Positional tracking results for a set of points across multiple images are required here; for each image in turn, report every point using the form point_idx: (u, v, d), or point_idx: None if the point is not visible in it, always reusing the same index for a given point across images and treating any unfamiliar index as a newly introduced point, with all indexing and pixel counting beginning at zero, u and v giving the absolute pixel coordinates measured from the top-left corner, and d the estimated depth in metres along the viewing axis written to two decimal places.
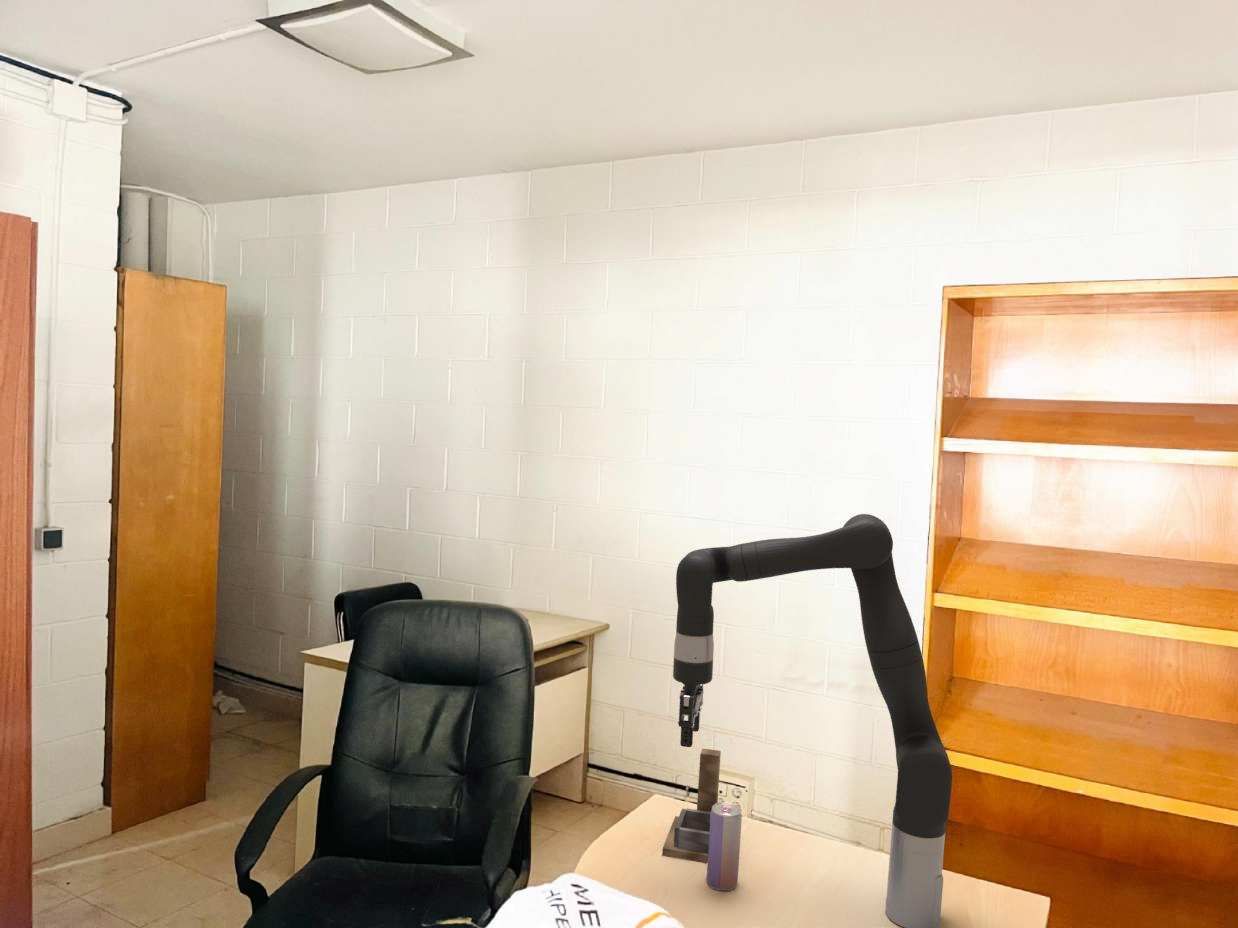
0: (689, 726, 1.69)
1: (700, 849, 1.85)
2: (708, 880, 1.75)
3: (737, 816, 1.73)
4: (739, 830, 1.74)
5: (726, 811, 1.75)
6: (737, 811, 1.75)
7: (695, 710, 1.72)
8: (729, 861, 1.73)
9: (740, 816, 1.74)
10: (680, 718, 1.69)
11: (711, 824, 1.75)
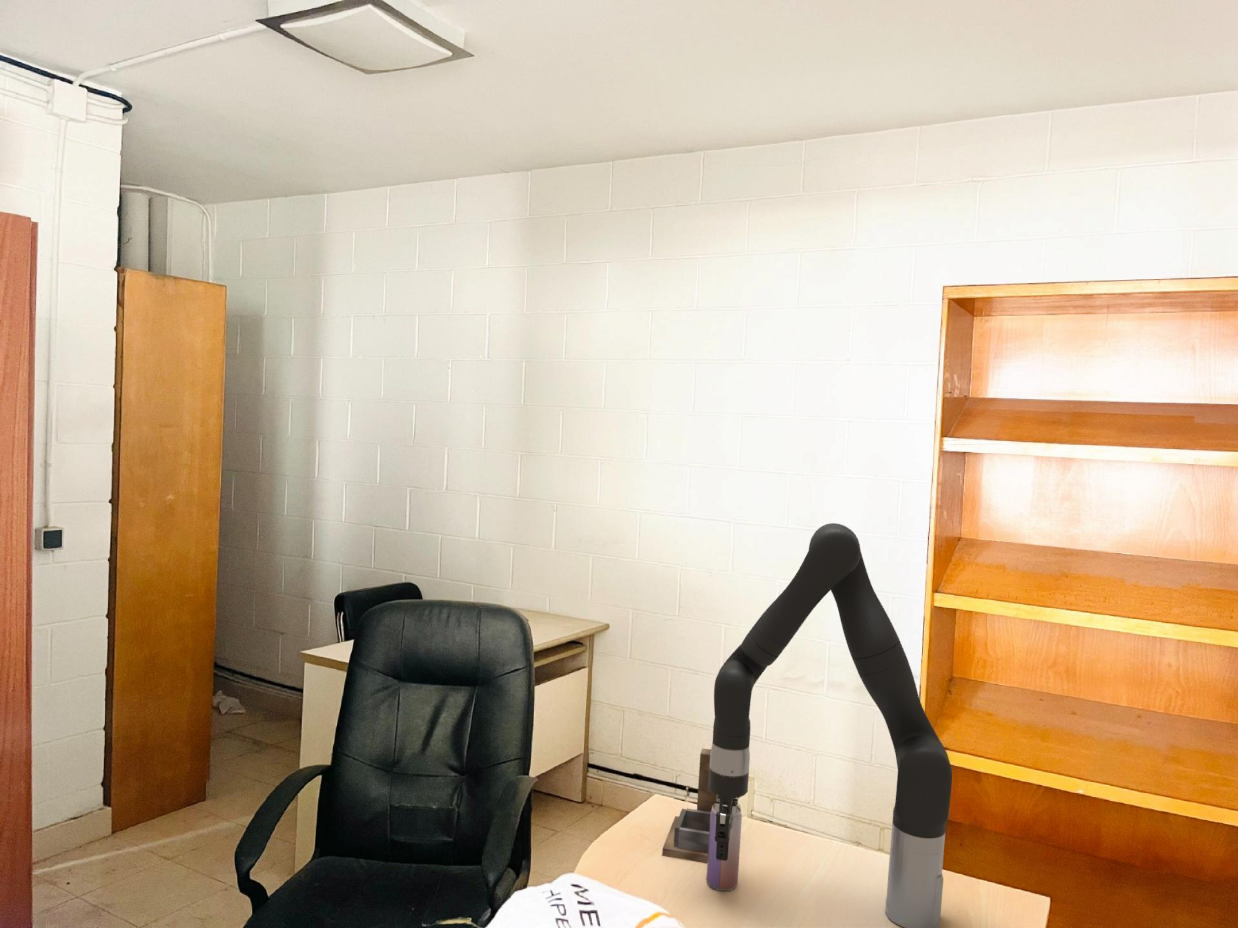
0: (725, 842, 1.70)
1: (700, 849, 1.85)
2: (708, 880, 1.75)
3: (737, 816, 1.73)
4: (739, 830, 1.74)
5: None
6: (737, 811, 1.75)
7: (731, 824, 1.72)
8: (729, 861, 1.73)
9: (740, 816, 1.74)
10: (716, 834, 1.70)
11: (711, 824, 1.75)
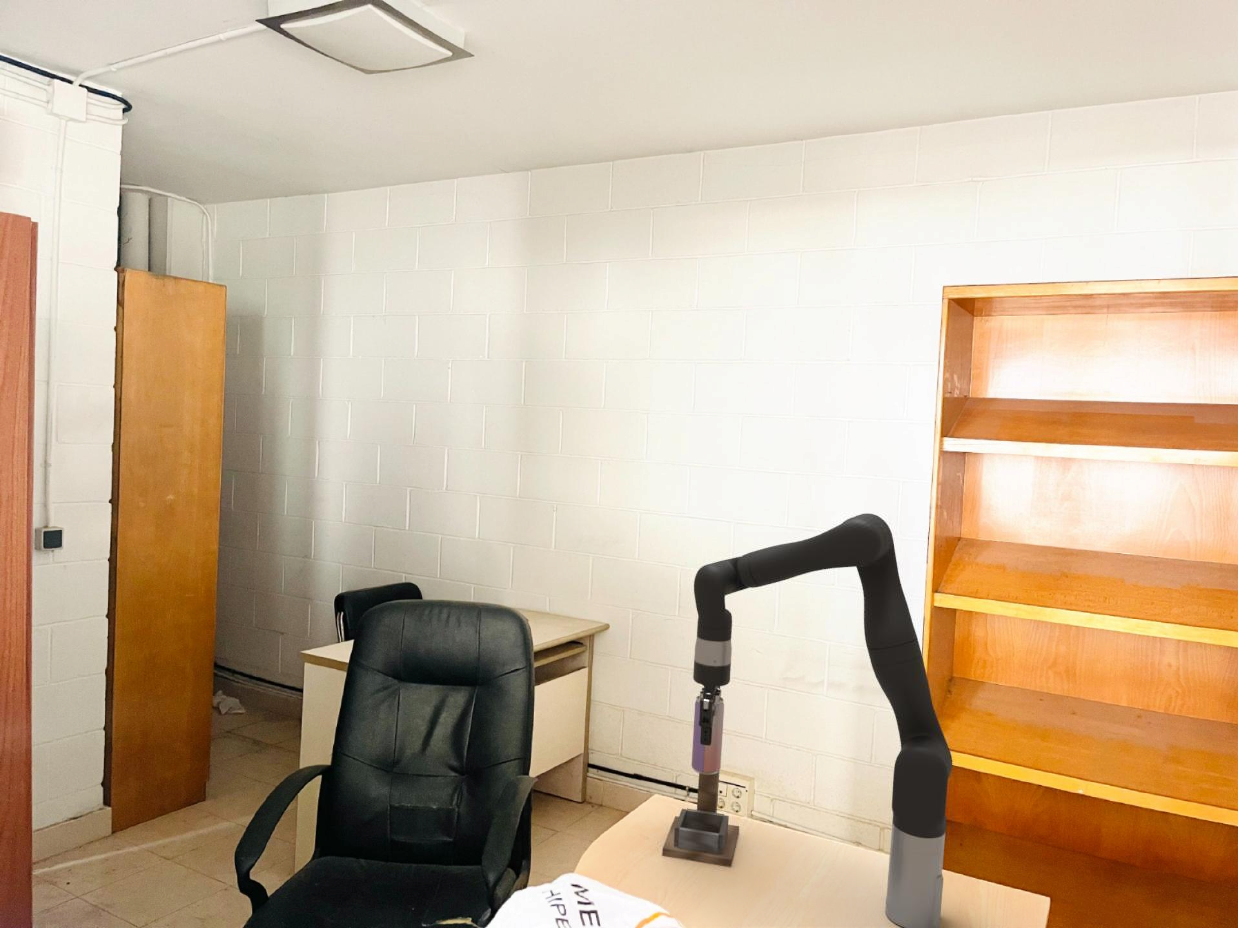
0: (708, 726, 1.82)
1: (700, 849, 1.85)
2: (693, 765, 1.88)
3: (719, 704, 1.86)
4: (721, 718, 1.87)
5: None
6: (720, 701, 1.87)
7: (714, 711, 1.85)
8: (712, 746, 1.86)
9: (722, 705, 1.87)
10: (700, 719, 1.82)
11: (695, 713, 1.87)
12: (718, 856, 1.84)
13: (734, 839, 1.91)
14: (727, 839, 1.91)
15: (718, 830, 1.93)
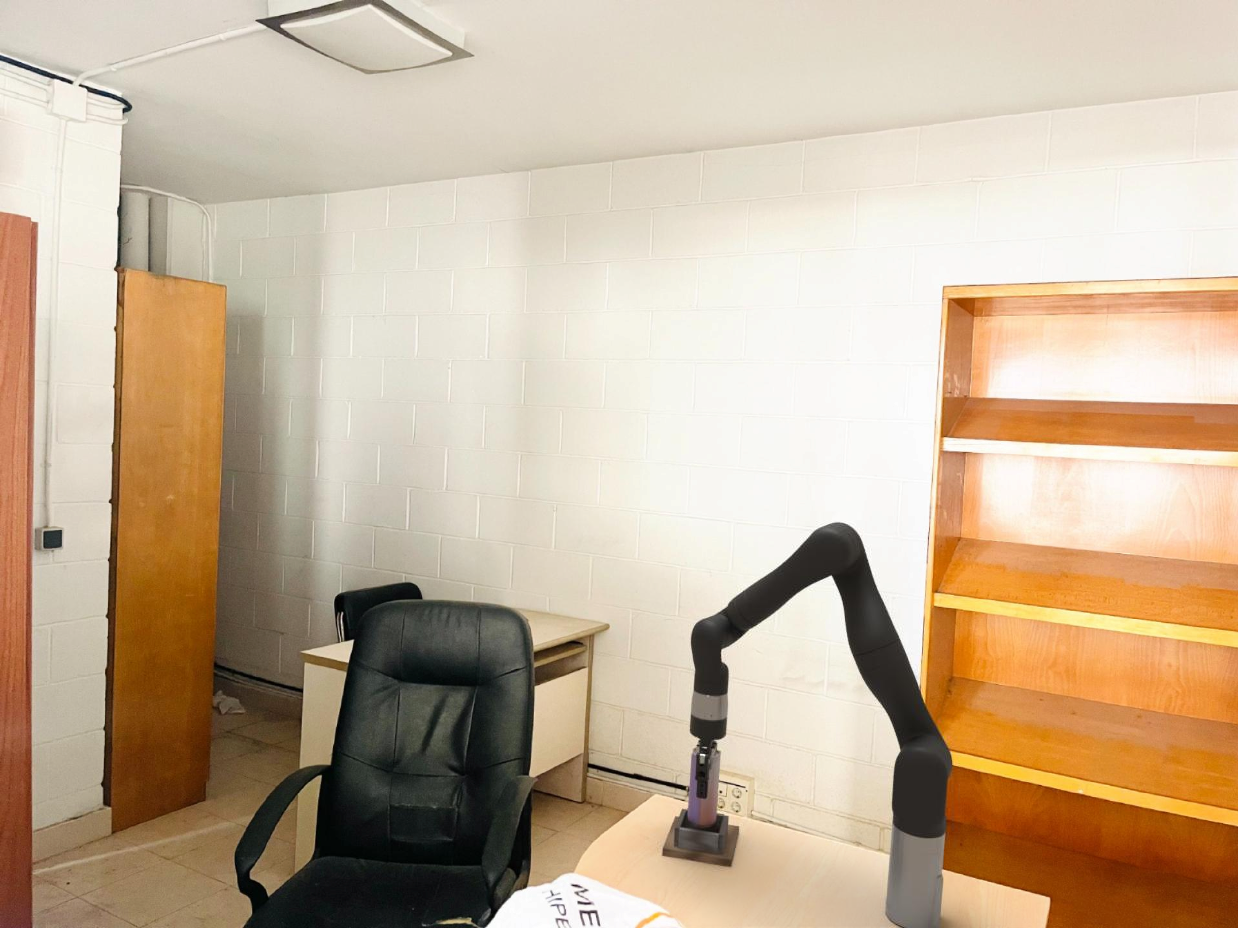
0: (705, 780, 1.83)
1: (700, 849, 1.85)
2: (689, 818, 1.89)
3: (716, 758, 1.87)
4: (717, 771, 1.87)
5: None
6: (716, 753, 1.88)
7: (710, 765, 1.85)
8: (708, 799, 1.86)
9: (718, 758, 1.88)
10: (696, 774, 1.83)
11: (692, 765, 1.88)
12: (718, 856, 1.84)
13: (734, 839, 1.91)
14: (727, 839, 1.91)
15: (718, 830, 1.93)
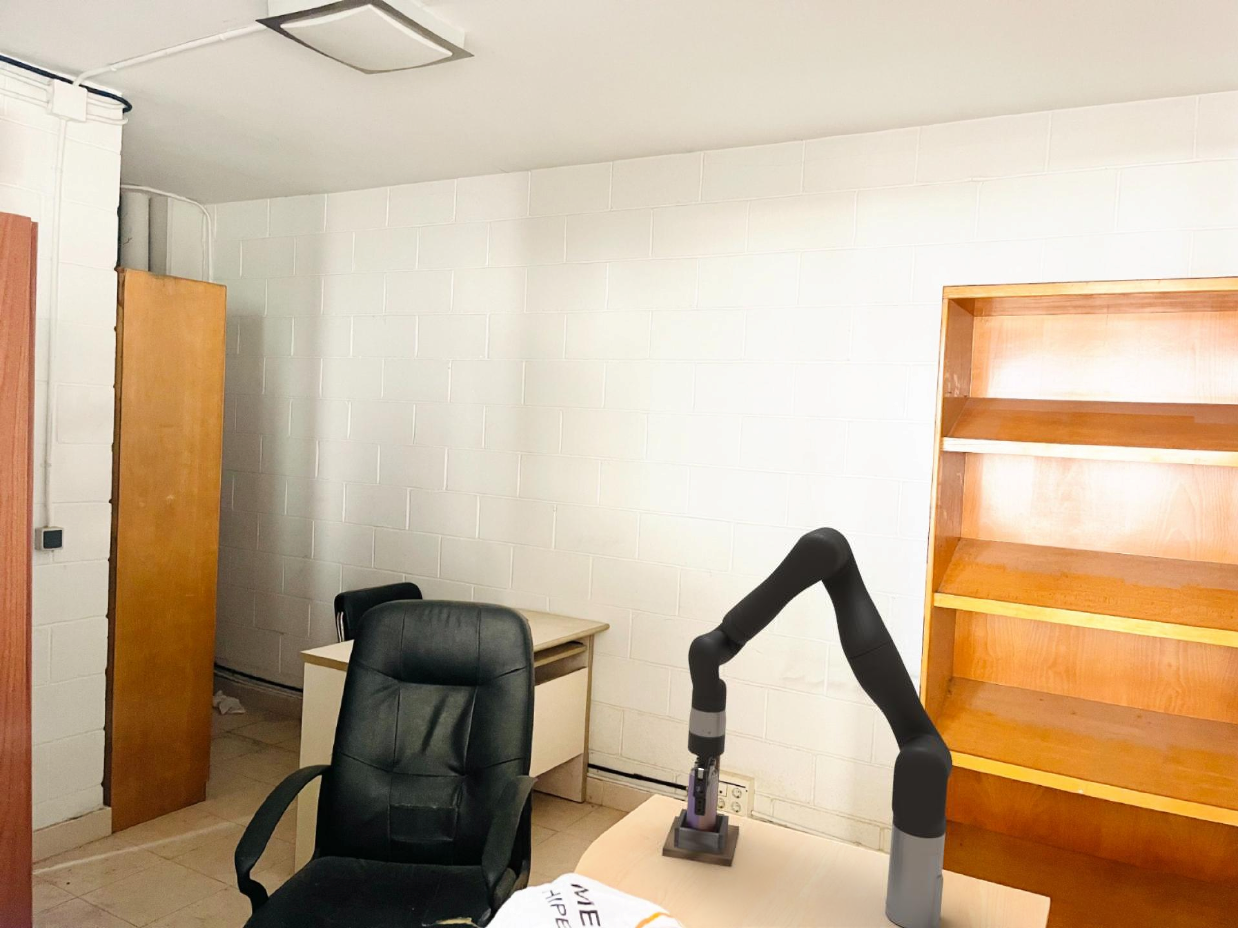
0: (702, 796, 1.81)
1: (700, 849, 1.85)
2: None
3: (713, 778, 1.86)
4: (715, 791, 1.87)
5: None
6: (714, 774, 1.88)
7: (708, 781, 1.84)
8: (706, 819, 1.86)
9: (716, 778, 1.87)
10: (694, 789, 1.82)
11: (689, 786, 1.88)
12: (718, 856, 1.84)
13: (734, 839, 1.91)
14: (727, 839, 1.91)
15: (718, 830, 1.93)
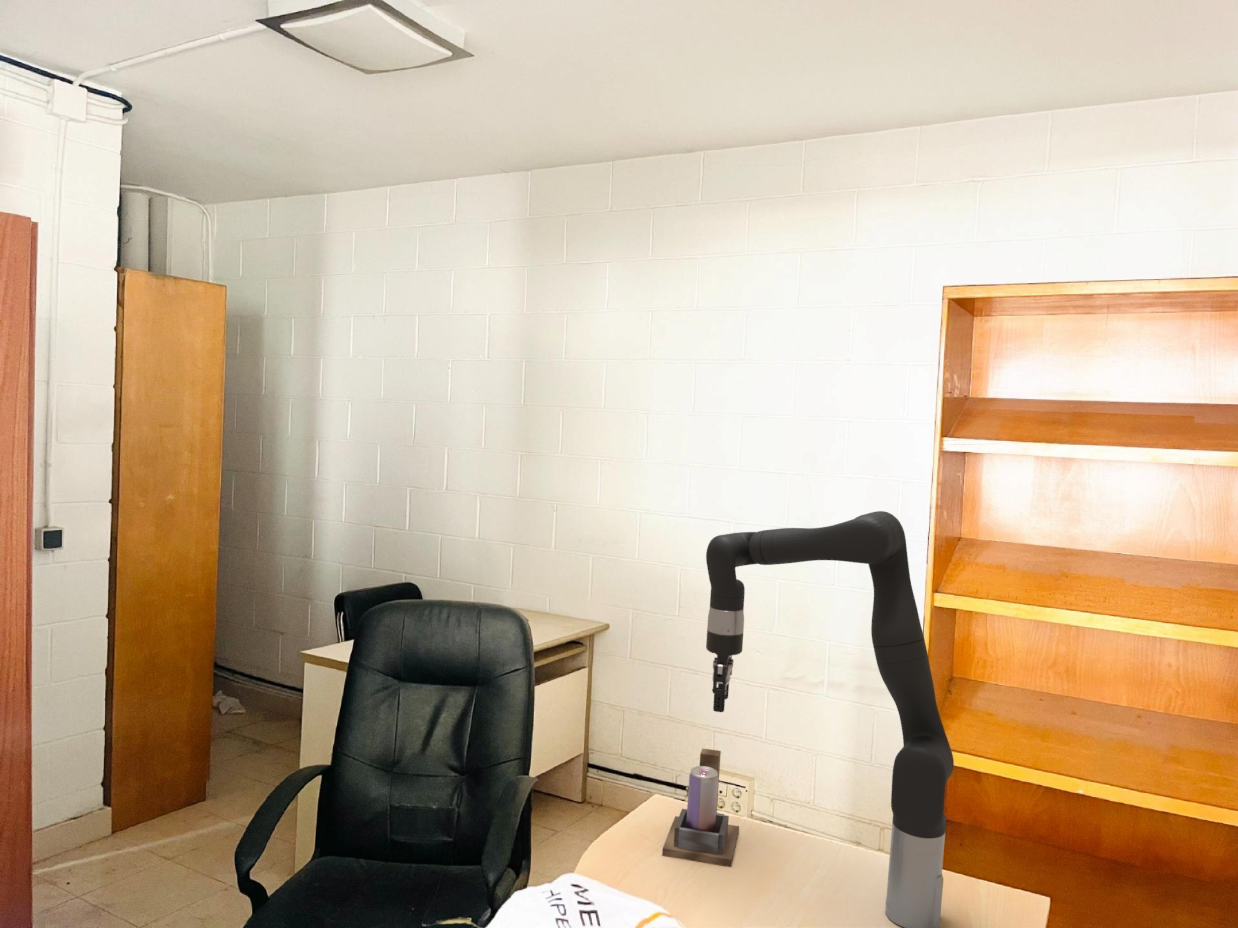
0: (722, 692, 1.84)
1: (700, 849, 1.85)
2: None
3: (714, 778, 1.86)
4: (715, 791, 1.87)
5: (704, 773, 1.88)
6: (714, 774, 1.88)
7: (727, 678, 1.88)
8: (706, 819, 1.86)
9: (716, 778, 1.87)
10: (714, 685, 1.85)
11: (690, 785, 1.88)
12: (718, 856, 1.84)
13: (734, 839, 1.91)
14: (727, 839, 1.91)
15: (718, 830, 1.93)
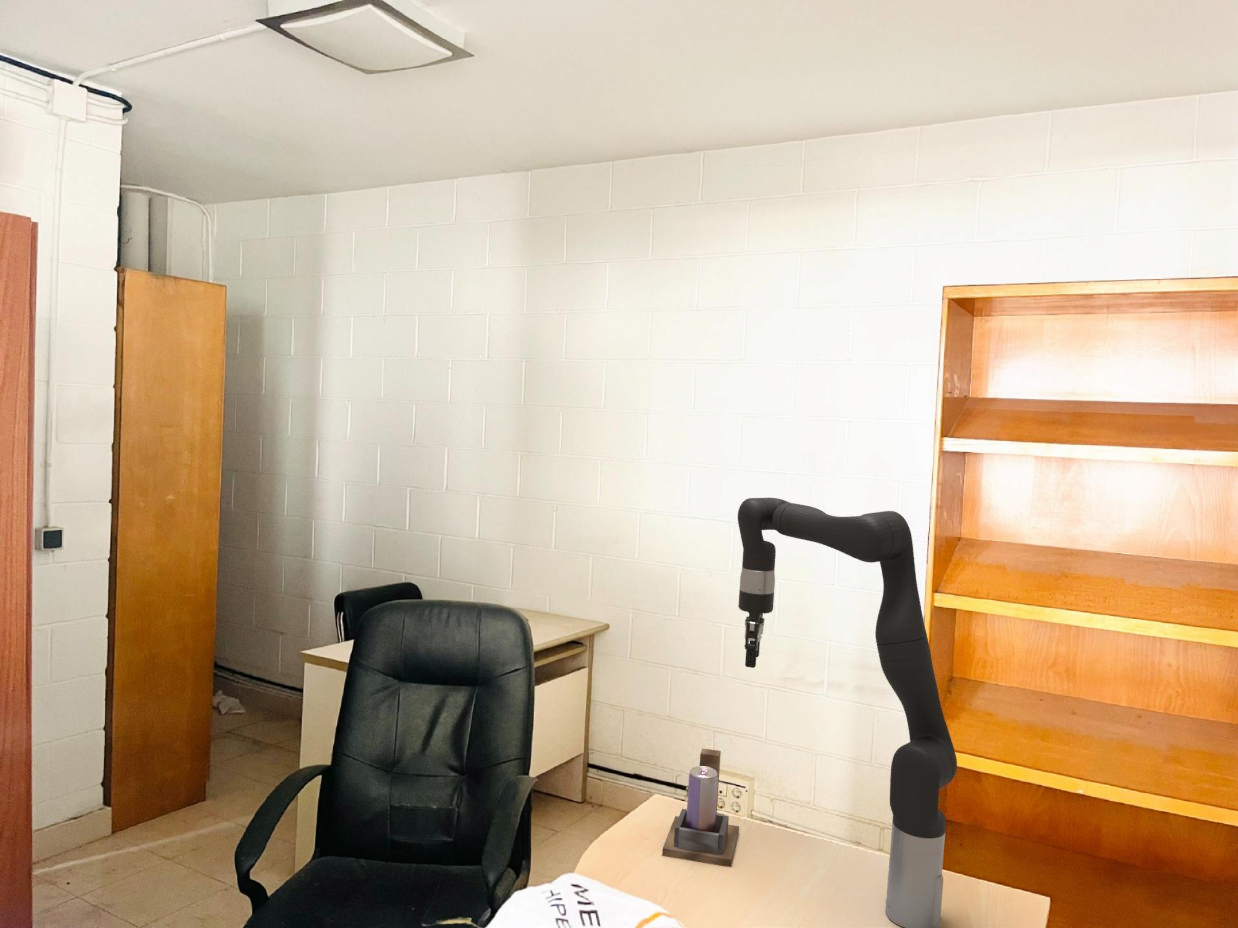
0: (754, 648, 1.93)
1: (700, 849, 1.85)
2: None
3: (713, 778, 1.86)
4: (715, 791, 1.87)
5: (703, 774, 1.88)
6: (713, 774, 1.88)
7: (758, 635, 1.96)
8: (706, 819, 1.86)
9: (716, 778, 1.87)
10: (746, 641, 1.94)
11: (689, 786, 1.88)
12: (718, 856, 1.84)
13: (734, 839, 1.91)
14: (727, 839, 1.91)
15: (718, 830, 1.93)
